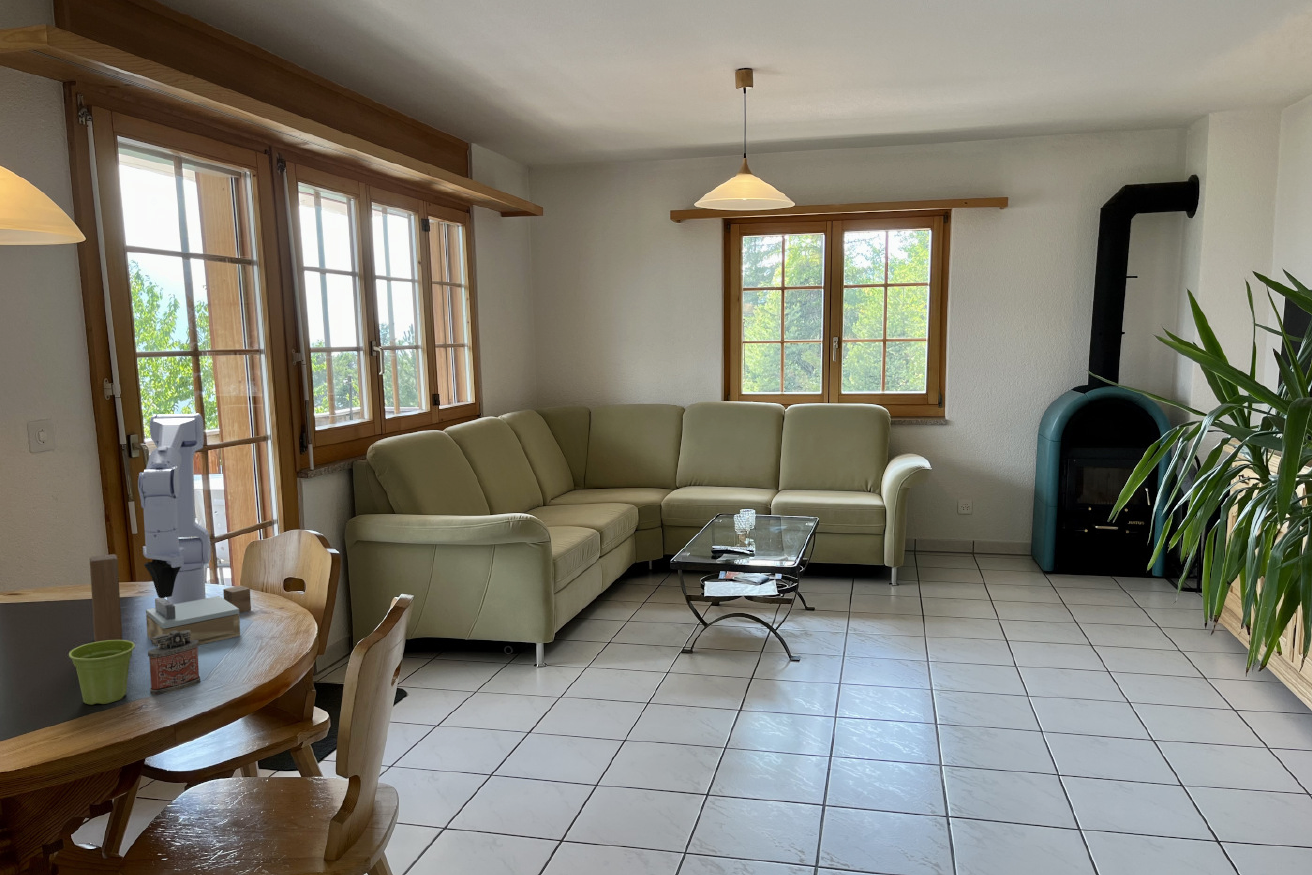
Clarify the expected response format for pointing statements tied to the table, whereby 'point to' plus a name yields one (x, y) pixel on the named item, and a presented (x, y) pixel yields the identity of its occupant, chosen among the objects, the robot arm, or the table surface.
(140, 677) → the table surface
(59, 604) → the table surface
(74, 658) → the plant pot
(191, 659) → the lighter
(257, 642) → the table surface
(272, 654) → the table surface
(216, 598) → the toolbox lid
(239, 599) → the small brown block
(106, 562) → the wooden block
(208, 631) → the brown piece
